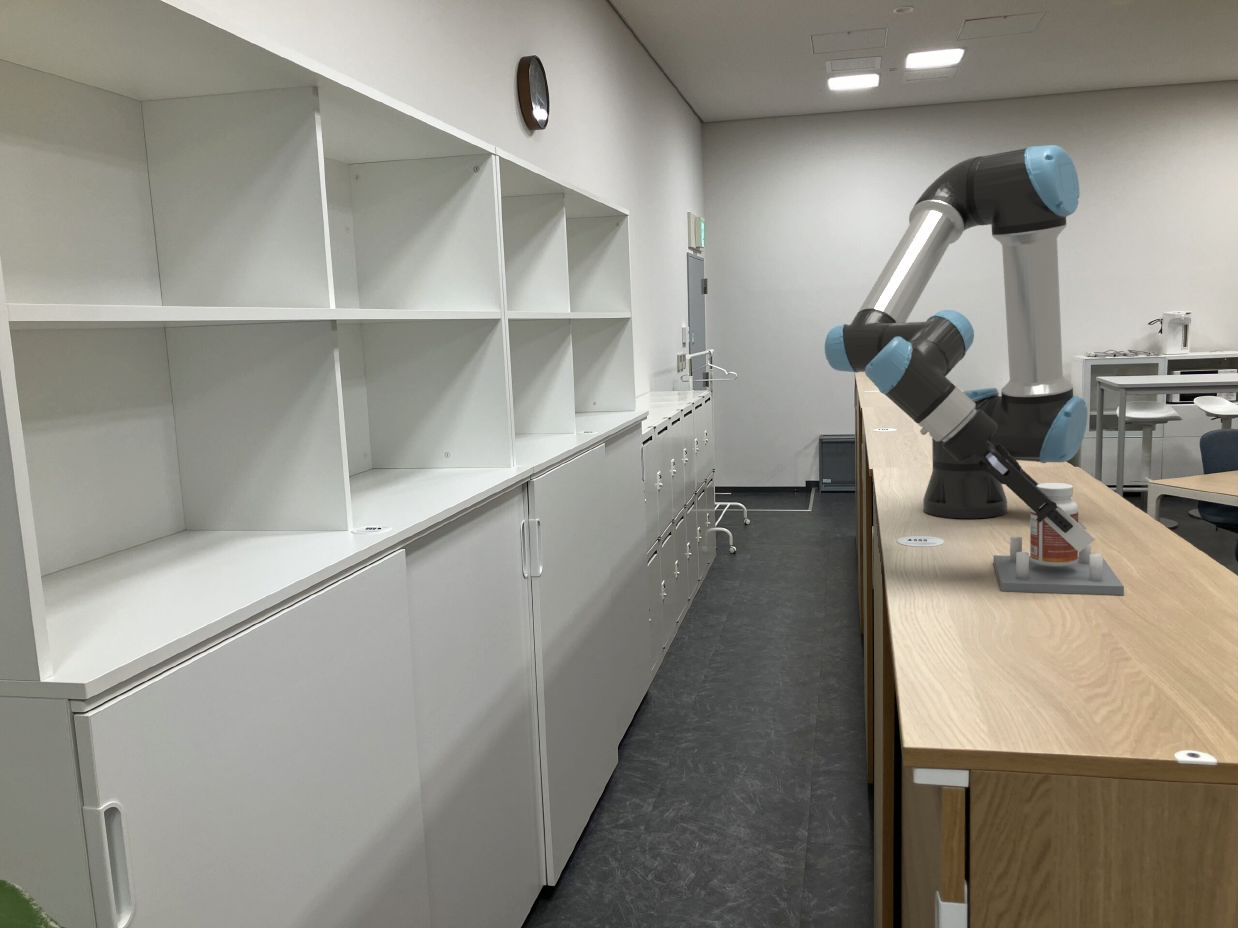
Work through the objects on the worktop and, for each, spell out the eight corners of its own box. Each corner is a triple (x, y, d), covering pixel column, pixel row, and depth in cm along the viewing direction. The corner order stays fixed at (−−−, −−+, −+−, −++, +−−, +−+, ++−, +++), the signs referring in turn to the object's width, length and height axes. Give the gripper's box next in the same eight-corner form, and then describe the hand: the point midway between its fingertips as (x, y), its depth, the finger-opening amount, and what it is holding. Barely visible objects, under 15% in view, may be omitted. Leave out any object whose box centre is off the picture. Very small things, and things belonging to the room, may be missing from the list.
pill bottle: (1086, 562, 131) (1088, 484, 130) (1061, 570, 128) (1063, 491, 126) (1045, 554, 136) (1047, 479, 135) (1020, 562, 133) (1021, 485, 131)
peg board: (993, 562, 142) (993, 532, 141) (1102, 565, 137) (1103, 534, 137) (1001, 591, 128) (1001, 557, 127) (1123, 595, 123) (1124, 560, 123)
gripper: (937, 435, 143) (1052, 541, 141) (940, 454, 125) (1071, 575, 123) (974, 400, 141) (1092, 507, 138) (982, 414, 123) (1117, 537, 120)
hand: (1082, 539), depth 131 cm, fingers closed on pill bottle, 6 cm apart
